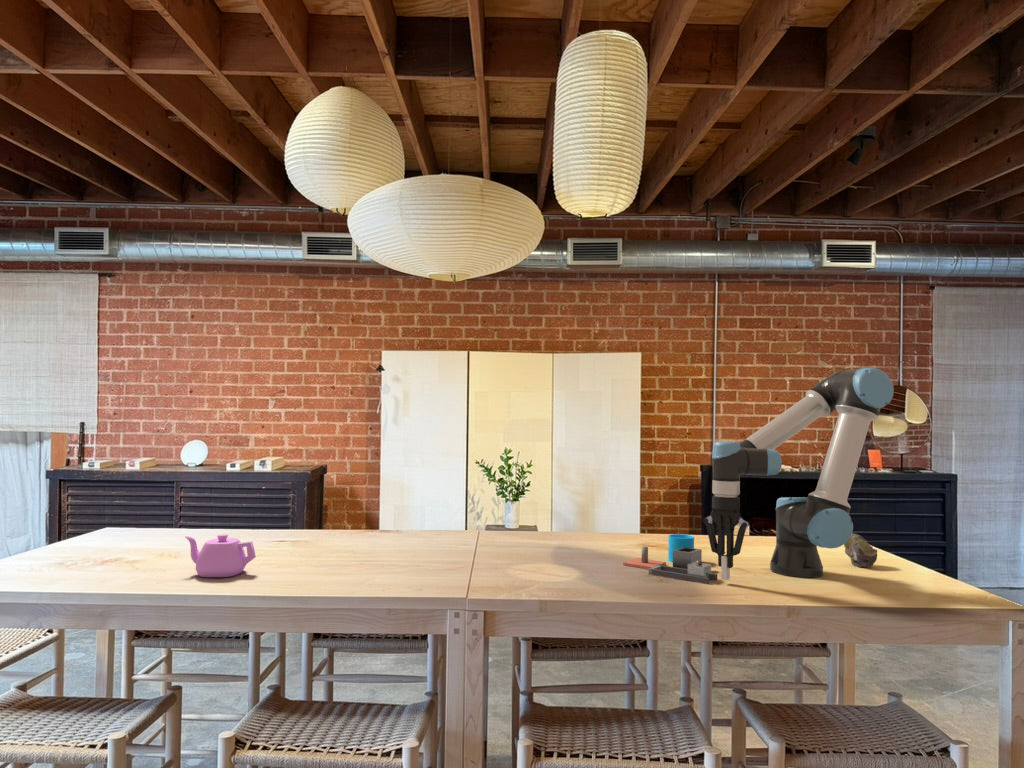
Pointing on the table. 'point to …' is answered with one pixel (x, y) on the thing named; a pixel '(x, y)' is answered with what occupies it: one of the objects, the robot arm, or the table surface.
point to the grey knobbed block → (699, 569)
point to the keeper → (643, 561)
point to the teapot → (221, 556)
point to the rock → (860, 551)
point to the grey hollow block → (686, 557)
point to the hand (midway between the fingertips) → (725, 578)
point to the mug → (679, 543)
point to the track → (679, 574)
